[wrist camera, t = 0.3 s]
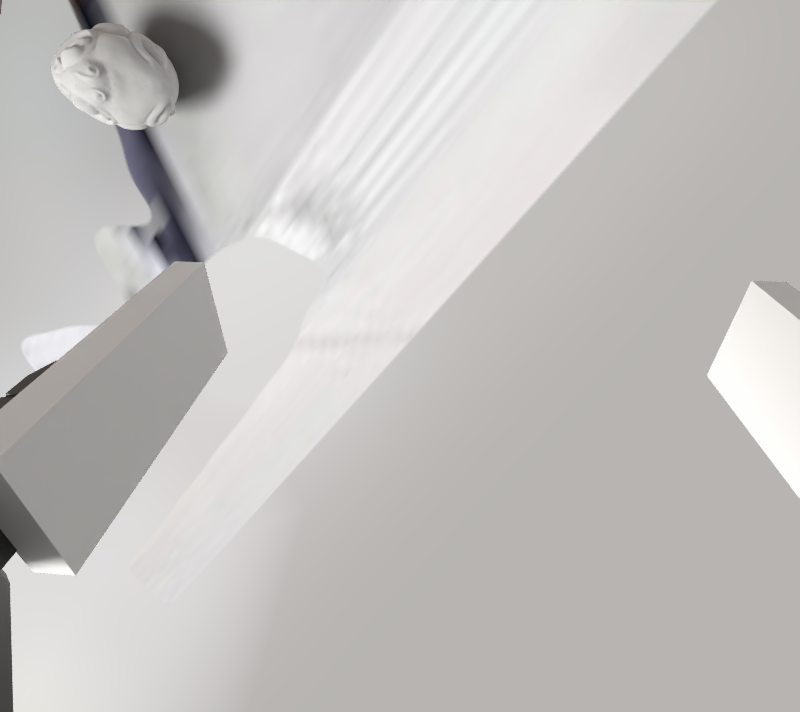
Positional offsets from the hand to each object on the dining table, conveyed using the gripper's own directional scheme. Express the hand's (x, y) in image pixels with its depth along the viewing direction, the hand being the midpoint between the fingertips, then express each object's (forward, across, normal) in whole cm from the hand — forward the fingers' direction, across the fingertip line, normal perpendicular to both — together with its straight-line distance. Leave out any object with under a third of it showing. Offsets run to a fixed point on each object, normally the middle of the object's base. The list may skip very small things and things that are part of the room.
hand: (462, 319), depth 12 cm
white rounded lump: (+27, -22, +3) cm, 35 cm away
